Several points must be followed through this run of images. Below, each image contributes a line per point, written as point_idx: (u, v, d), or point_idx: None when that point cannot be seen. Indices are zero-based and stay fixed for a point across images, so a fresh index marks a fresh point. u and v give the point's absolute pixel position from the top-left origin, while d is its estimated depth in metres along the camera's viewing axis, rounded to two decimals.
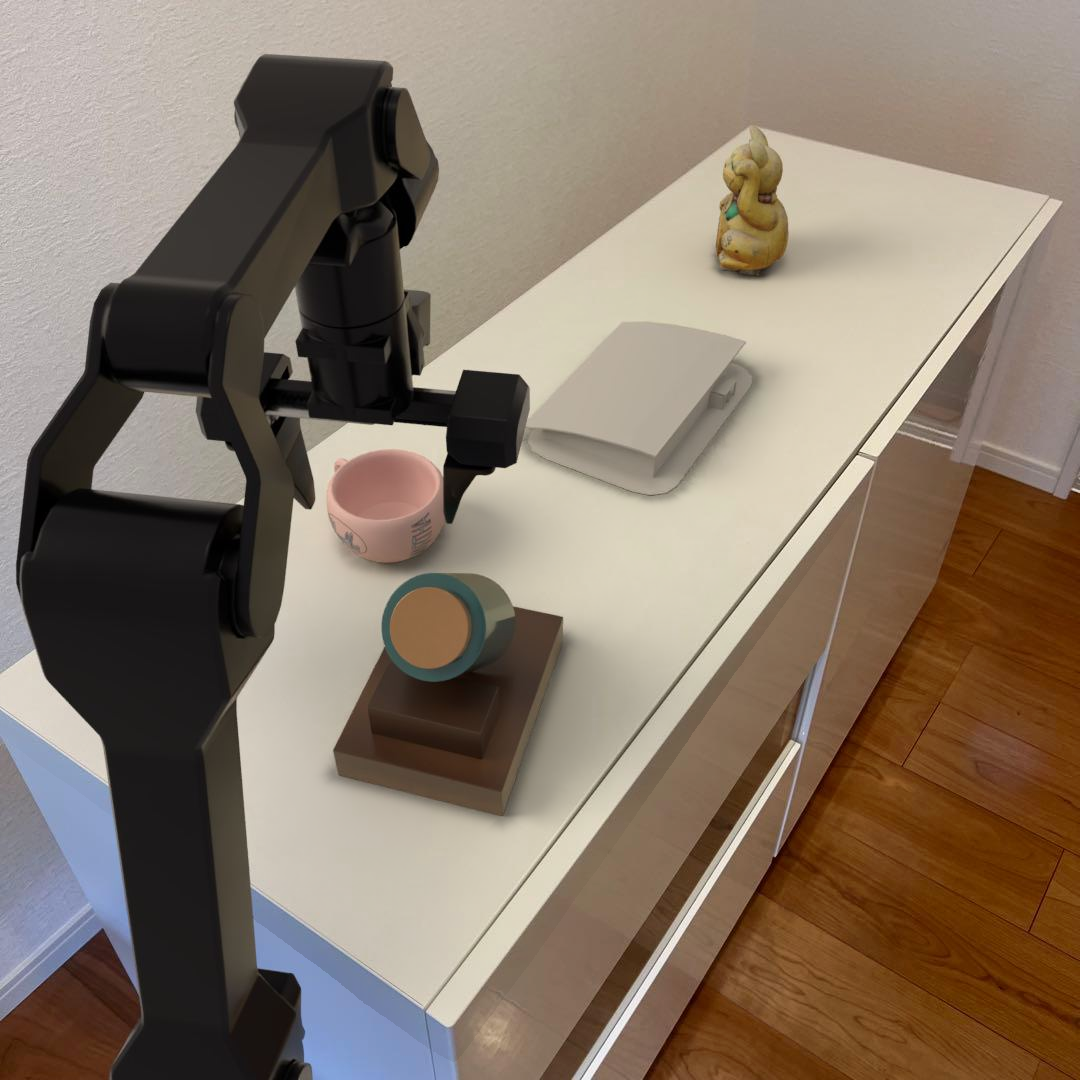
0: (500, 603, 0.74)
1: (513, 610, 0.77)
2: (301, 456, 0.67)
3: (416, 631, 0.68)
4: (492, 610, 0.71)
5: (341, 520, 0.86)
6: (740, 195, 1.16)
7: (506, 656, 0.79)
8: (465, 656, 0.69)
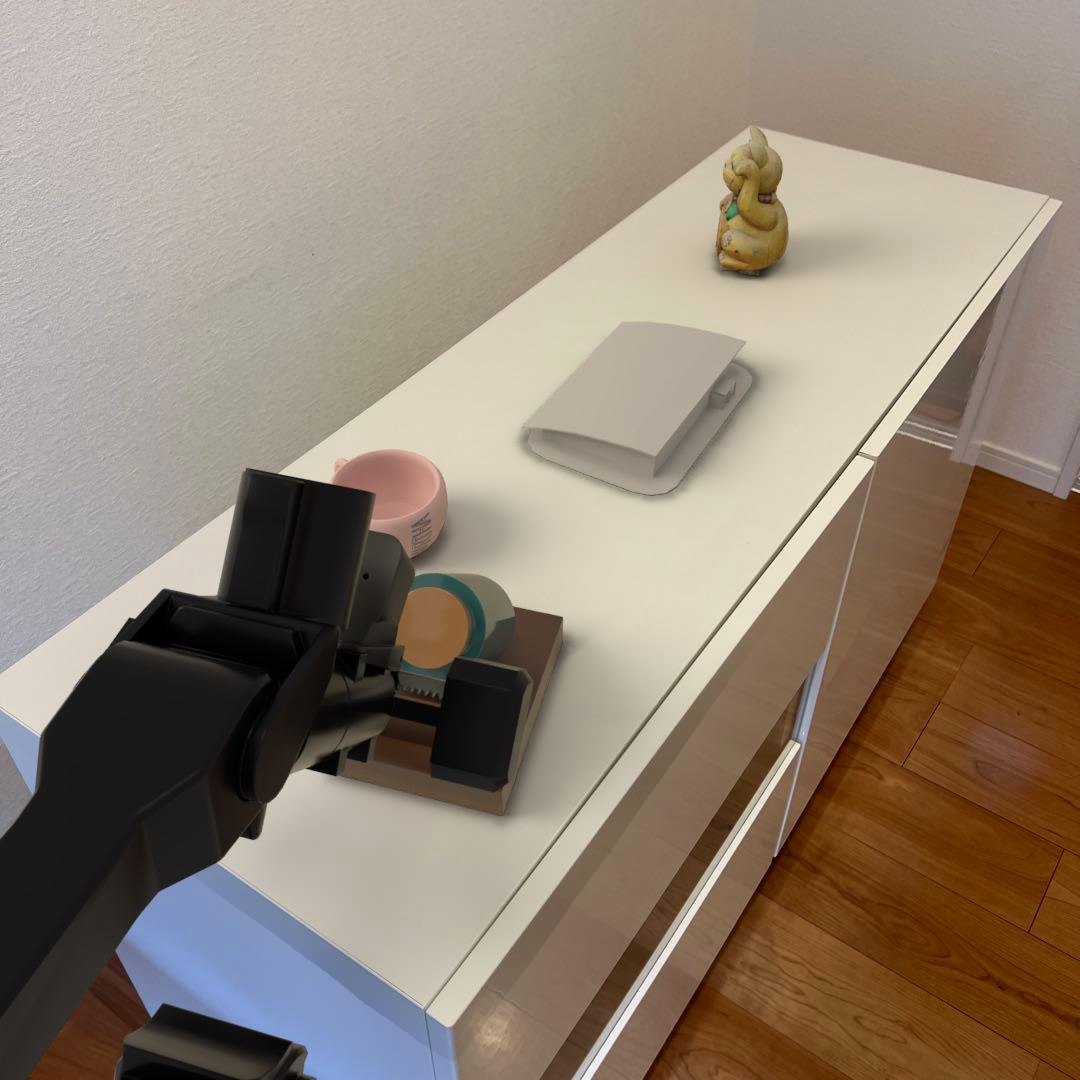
0: (500, 603, 0.74)
1: (513, 610, 0.77)
2: None
3: (416, 631, 0.68)
4: (492, 610, 0.71)
5: None
6: (740, 195, 1.16)
7: (506, 656, 0.79)
8: None
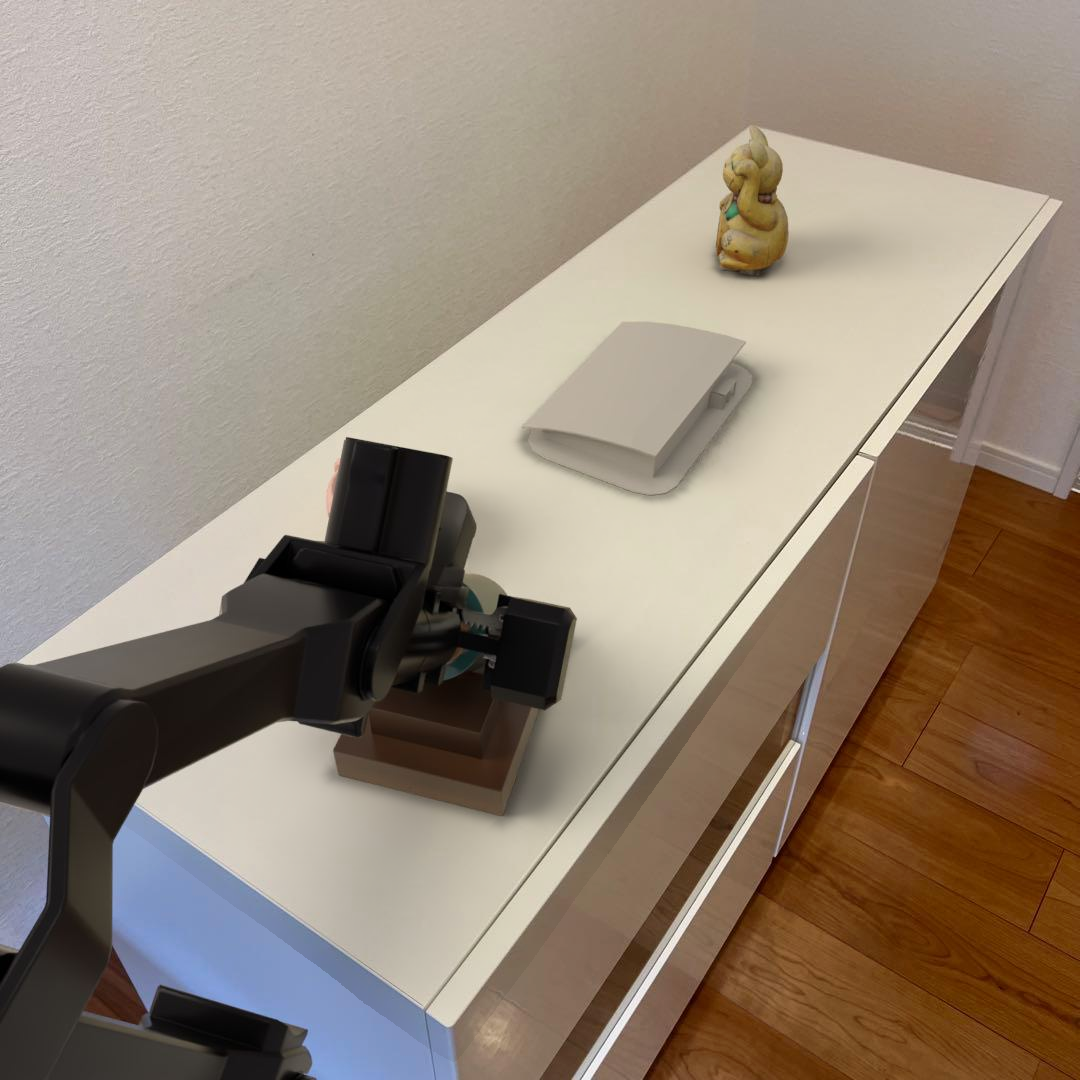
0: None
1: None
2: None
3: None
4: (492, 610, 0.71)
5: None
6: (740, 195, 1.16)
7: None
8: (465, 656, 0.69)
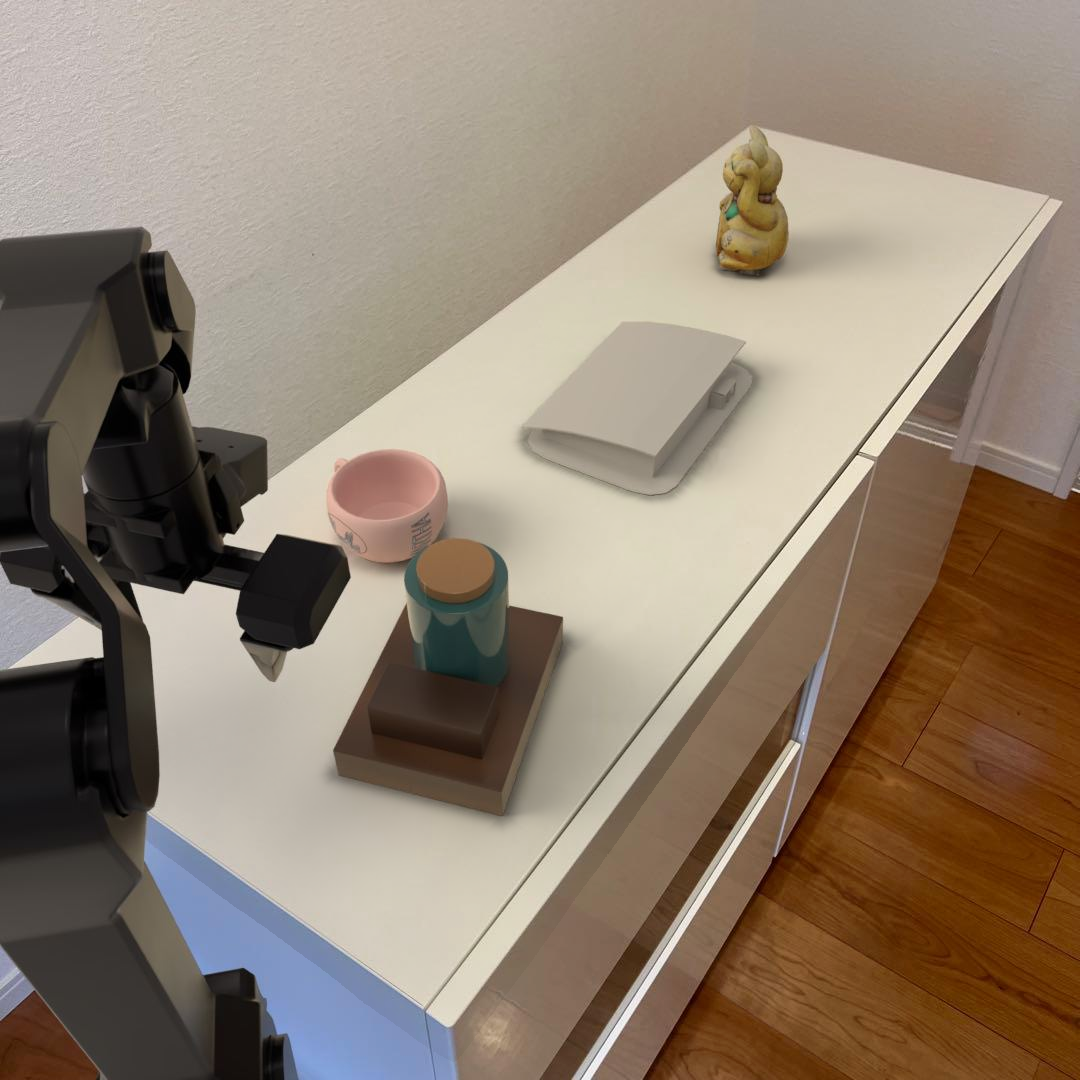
0: None
1: None
2: (124, 598, 0.64)
3: (443, 566, 0.71)
4: None
5: (341, 520, 0.86)
6: (740, 195, 1.16)
7: None
8: (484, 597, 0.71)
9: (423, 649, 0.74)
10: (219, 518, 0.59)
